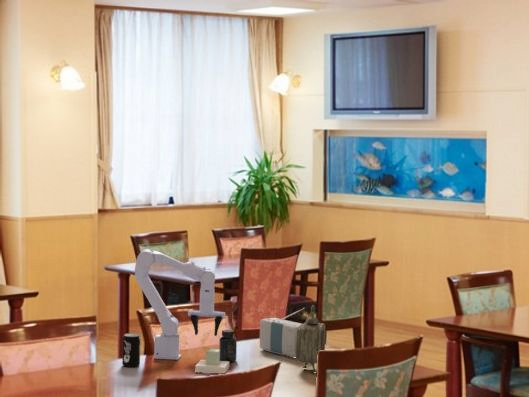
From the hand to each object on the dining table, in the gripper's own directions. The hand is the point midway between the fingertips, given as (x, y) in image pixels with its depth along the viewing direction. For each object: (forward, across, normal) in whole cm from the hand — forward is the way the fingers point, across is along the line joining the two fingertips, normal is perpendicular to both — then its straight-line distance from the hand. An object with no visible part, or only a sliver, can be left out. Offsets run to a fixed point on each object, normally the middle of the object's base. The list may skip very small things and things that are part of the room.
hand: (206, 334), depth 420 cm
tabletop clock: (+10, +42, -10) cm, 44 cm away
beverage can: (+10, -25, -20) cm, 33 cm away
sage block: (+7, +6, -19) cm, 21 cm away
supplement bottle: (+10, +9, -2) cm, 13 cm away
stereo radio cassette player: (+10, +29, +17) cm, 35 cm away
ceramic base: (+10, +6, -19) cm, 22 cm away
